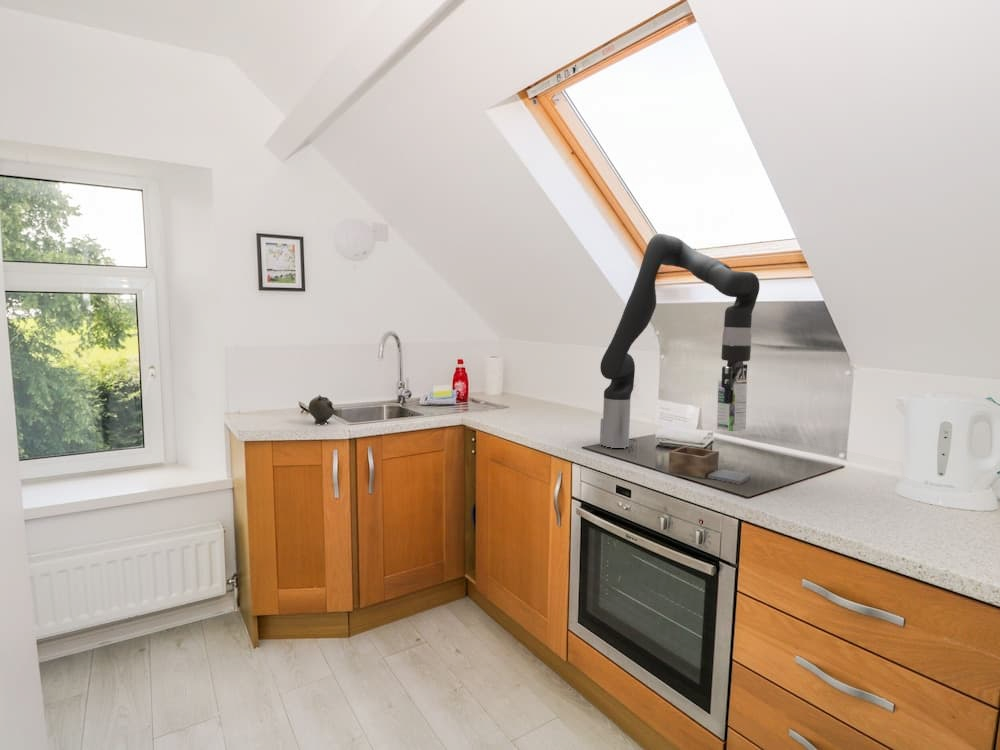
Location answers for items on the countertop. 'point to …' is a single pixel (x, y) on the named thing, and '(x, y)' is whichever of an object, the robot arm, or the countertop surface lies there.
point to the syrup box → (732, 407)
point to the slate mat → (729, 476)
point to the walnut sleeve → (693, 461)
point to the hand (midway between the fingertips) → (733, 401)
